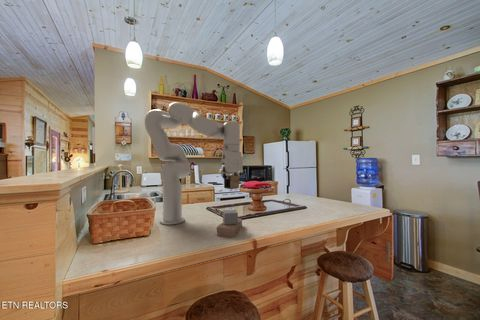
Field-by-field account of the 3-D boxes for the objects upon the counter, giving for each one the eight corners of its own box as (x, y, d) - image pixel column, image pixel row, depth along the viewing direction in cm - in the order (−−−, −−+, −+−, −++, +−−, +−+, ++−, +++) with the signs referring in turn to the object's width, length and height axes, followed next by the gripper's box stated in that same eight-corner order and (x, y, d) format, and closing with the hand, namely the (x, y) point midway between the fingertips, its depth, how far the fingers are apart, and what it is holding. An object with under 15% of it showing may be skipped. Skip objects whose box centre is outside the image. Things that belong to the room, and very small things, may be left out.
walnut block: (224, 188, 106) (224, 175, 105) (232, 187, 109) (232, 174, 109) (231, 189, 102) (231, 176, 102) (239, 188, 105) (239, 175, 105)
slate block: (237, 223, 102) (237, 212, 102) (224, 224, 101) (224, 213, 101) (235, 220, 108) (235, 209, 108) (222, 220, 107) (222, 210, 107)
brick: (226, 225, 114) (226, 216, 114) (242, 226, 112) (242, 217, 112) (215, 237, 98) (215, 226, 98) (234, 239, 96) (234, 228, 96)
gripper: (222, 147, 97) (222, 189, 97) (249, 148, 108) (249, 186, 109) (212, 148, 102) (212, 188, 102) (239, 148, 114) (239, 184, 114)
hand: (231, 186), depth 106 cm, fingers closed on walnut block, 5 cm apart
